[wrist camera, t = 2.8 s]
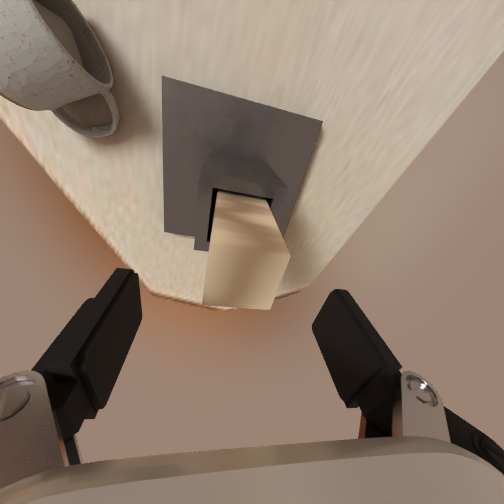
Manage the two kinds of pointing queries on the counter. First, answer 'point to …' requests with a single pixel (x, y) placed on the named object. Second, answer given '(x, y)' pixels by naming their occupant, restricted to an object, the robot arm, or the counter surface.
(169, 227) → the stand
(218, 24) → the counter surface
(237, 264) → the post
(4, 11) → the ceramic mug
